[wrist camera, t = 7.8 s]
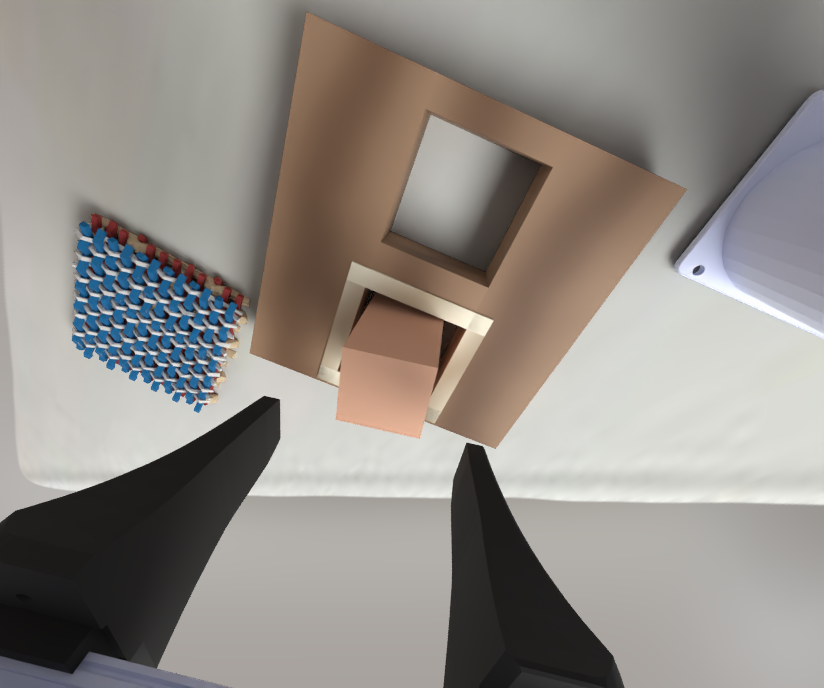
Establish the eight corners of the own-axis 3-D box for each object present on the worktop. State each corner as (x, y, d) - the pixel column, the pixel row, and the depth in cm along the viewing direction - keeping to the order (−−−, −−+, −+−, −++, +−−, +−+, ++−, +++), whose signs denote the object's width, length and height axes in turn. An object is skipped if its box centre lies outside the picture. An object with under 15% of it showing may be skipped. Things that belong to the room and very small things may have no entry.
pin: (445, 302, 20) (438, 368, 14) (431, 360, 22) (419, 438, 16) (378, 288, 20) (342, 346, 14) (370, 346, 22) (336, 419, 16)
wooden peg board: (657, 184, 16) (688, 189, 14) (492, 421, 24) (495, 449, 22) (329, 31, 15) (305, 10, 13) (270, 333, 23) (248, 354, 21)
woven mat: (263, 294, 22) (245, 306, 20) (221, 401, 27) (205, 419, 25) (99, 201, 21) (65, 206, 19) (88, 334, 26) (60, 348, 24)
